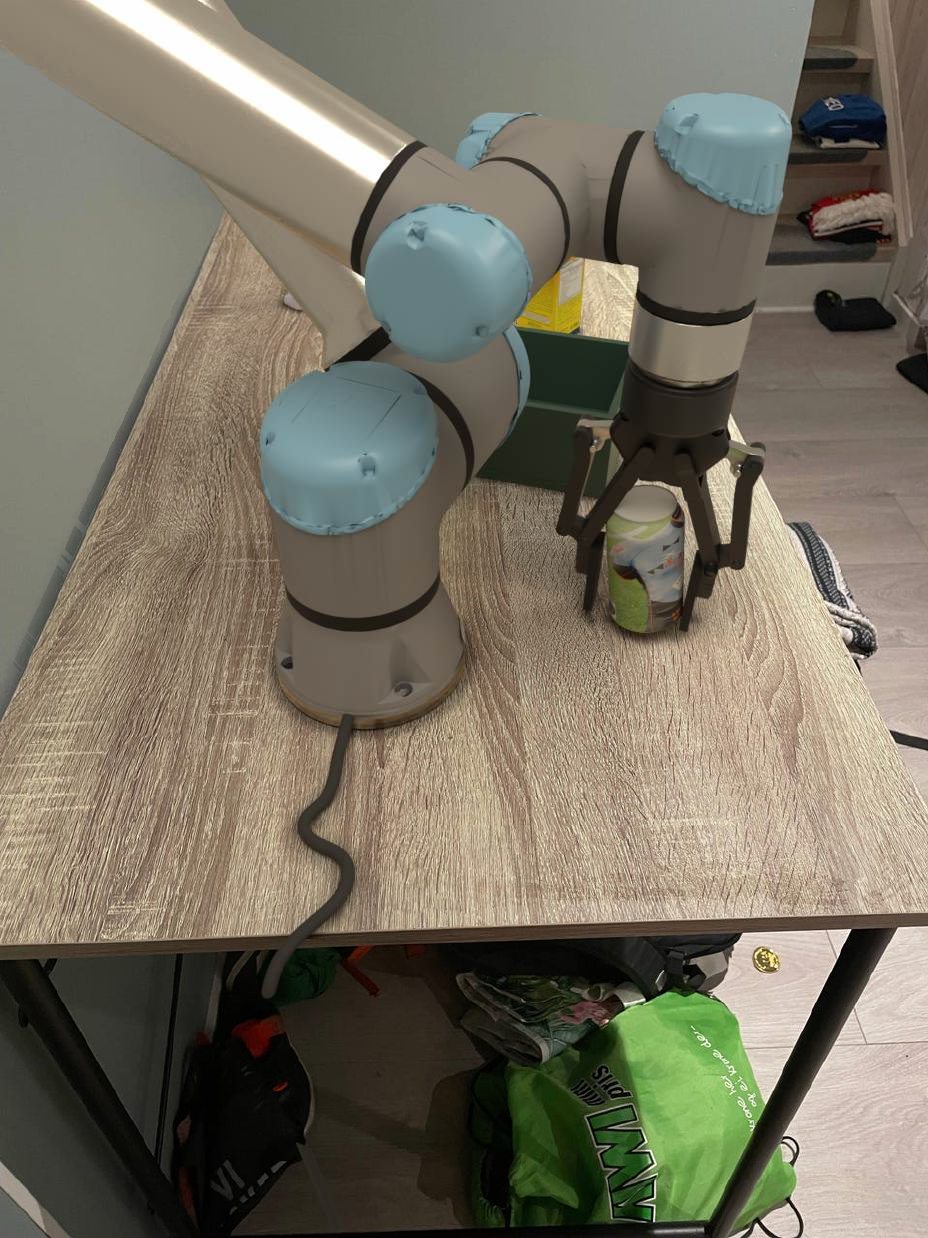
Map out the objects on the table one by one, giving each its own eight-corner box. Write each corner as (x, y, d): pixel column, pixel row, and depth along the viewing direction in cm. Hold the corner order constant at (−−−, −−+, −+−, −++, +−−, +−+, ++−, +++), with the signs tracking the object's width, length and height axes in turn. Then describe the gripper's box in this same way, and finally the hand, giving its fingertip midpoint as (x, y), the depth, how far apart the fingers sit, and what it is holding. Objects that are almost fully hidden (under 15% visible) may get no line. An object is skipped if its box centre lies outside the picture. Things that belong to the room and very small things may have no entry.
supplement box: (542, 318, 119) (547, 233, 111) (580, 331, 116) (588, 245, 108) (514, 335, 115) (517, 248, 108) (553, 349, 113) (559, 261, 105)
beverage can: (678, 647, 74) (706, 532, 66) (588, 634, 76) (604, 519, 67) (681, 597, 79) (707, 482, 71) (596, 585, 80) (612, 471, 72)
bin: (604, 499, 90) (614, 419, 84) (454, 472, 93) (453, 393, 87) (632, 419, 101) (642, 343, 95) (496, 397, 104) (498, 323, 98)
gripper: (841, 358, 61) (763, 606, 77) (549, 315, 66) (531, 559, 82) (839, 414, 56) (756, 668, 72) (522, 364, 61) (509, 614, 76)
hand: (637, 610), depth 77 cm, fingers closed on beverage can, 7 cm apart
